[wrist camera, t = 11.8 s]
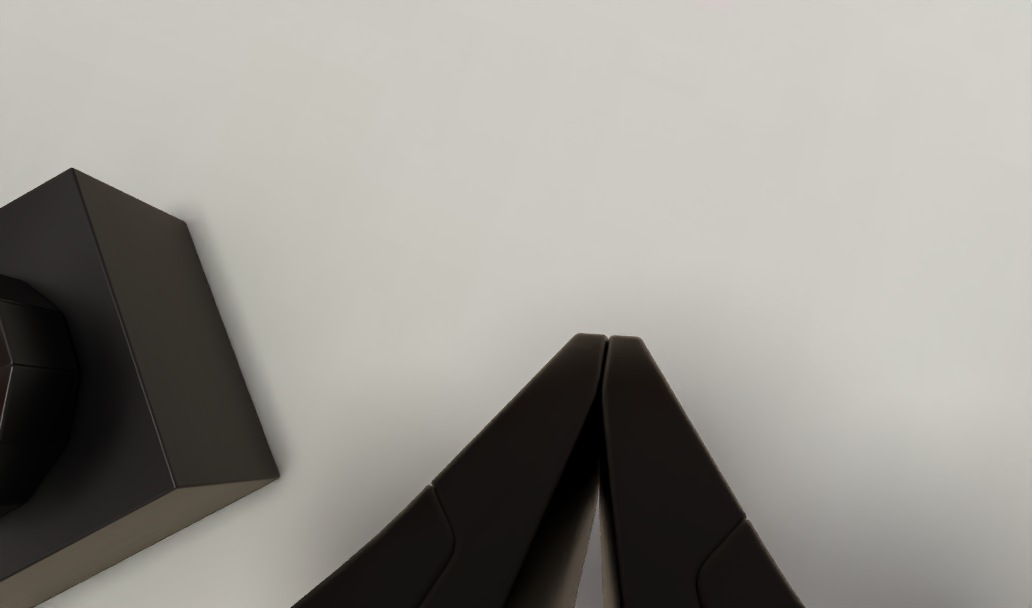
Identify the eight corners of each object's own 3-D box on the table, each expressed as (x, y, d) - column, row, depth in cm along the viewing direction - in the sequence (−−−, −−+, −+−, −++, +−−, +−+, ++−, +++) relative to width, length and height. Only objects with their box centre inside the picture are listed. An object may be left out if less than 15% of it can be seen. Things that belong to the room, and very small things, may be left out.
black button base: (280, 477, 21) (117, 494, 15) (22, 612, 22) (-247, 687, 15) (185, 220, 24) (8, 135, 17) (-44, 348, 25) (-300, 314, 18)
